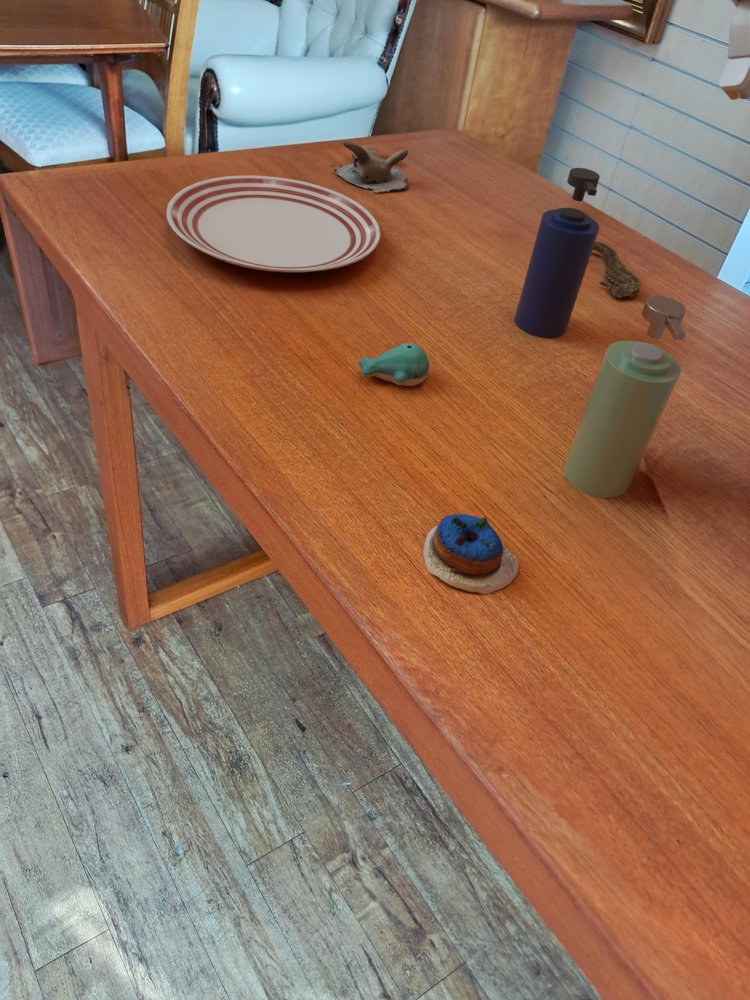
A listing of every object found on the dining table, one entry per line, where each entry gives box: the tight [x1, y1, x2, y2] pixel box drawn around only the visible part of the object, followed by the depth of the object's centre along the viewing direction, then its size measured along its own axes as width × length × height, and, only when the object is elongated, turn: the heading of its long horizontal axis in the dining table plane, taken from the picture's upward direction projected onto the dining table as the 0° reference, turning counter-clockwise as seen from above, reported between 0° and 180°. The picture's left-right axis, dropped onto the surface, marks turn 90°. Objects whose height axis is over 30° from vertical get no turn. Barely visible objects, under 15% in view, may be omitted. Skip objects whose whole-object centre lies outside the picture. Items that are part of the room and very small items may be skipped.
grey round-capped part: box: [641, 295, 687, 341], centre depth 64 cm, size 3×6×3 cm, turn 2°
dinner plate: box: [166, 175, 381, 273], centre depth 103 cm, size 27×27×3 cm
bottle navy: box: [514, 207, 600, 339], centre depth 92 cm, size 6×6×14 cm
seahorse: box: [592, 241, 642, 299], centre depth 108 cm, size 6×15×2 cm, turn 13°
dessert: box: [422, 513, 519, 595], centre depth 65 cm, size 8×7×6 cm
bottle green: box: [562, 340, 682, 499], centre depth 71 cm, size 6×6×14 cm
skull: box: [333, 141, 410, 194], centre depth 122 cm, size 10×12×6 cm
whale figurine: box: [357, 342, 430, 387], centre depth 83 cm, size 6×7×4 cm
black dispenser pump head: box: [566, 167, 601, 202], centre depth 84 cm, size 3×6×3 cm, turn 2°
